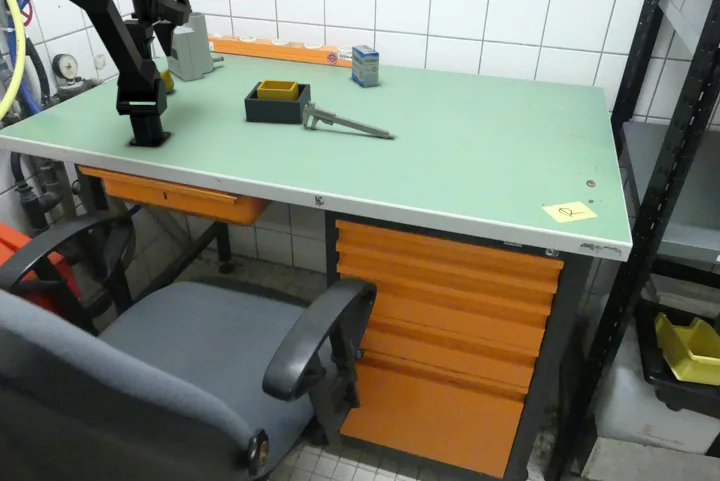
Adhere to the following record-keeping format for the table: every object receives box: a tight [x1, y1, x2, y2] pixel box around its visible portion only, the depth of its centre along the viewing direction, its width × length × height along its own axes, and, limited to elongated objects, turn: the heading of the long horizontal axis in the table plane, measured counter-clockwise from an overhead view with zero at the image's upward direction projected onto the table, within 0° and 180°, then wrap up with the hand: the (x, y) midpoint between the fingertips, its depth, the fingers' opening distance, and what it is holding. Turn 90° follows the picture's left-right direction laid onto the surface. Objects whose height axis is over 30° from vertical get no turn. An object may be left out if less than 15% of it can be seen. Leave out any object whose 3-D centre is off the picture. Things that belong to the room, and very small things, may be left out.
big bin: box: [243, 81, 312, 125], centre depth 123 cm, size 12×13×5 cm
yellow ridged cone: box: [160, 69, 175, 95], centre depth 133 cm, size 5×5×10 cm
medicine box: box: [351, 44, 380, 88], centre depth 141 cm, size 8×4×9 cm, turn 25°
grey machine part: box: [165, 11, 225, 82], centre depth 145 cm, size 12×14×15 cm
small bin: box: [257, 79, 299, 101], centre depth 123 cm, size 6×8×6 cm
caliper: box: [302, 100, 395, 139], centre depth 114 cm, size 20×1×6 cm, turn 75°
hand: (159, 62), depth 117 cm, fingers open, 9 cm apart
